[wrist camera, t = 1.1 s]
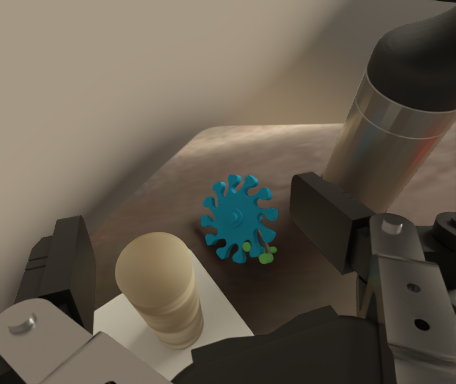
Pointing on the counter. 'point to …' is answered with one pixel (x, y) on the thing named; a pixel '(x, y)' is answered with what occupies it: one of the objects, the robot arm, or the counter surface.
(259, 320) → the counter surface
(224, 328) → the white peg hole board
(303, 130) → the counter surface
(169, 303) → the peg
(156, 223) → the counter surface
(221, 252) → the gear
